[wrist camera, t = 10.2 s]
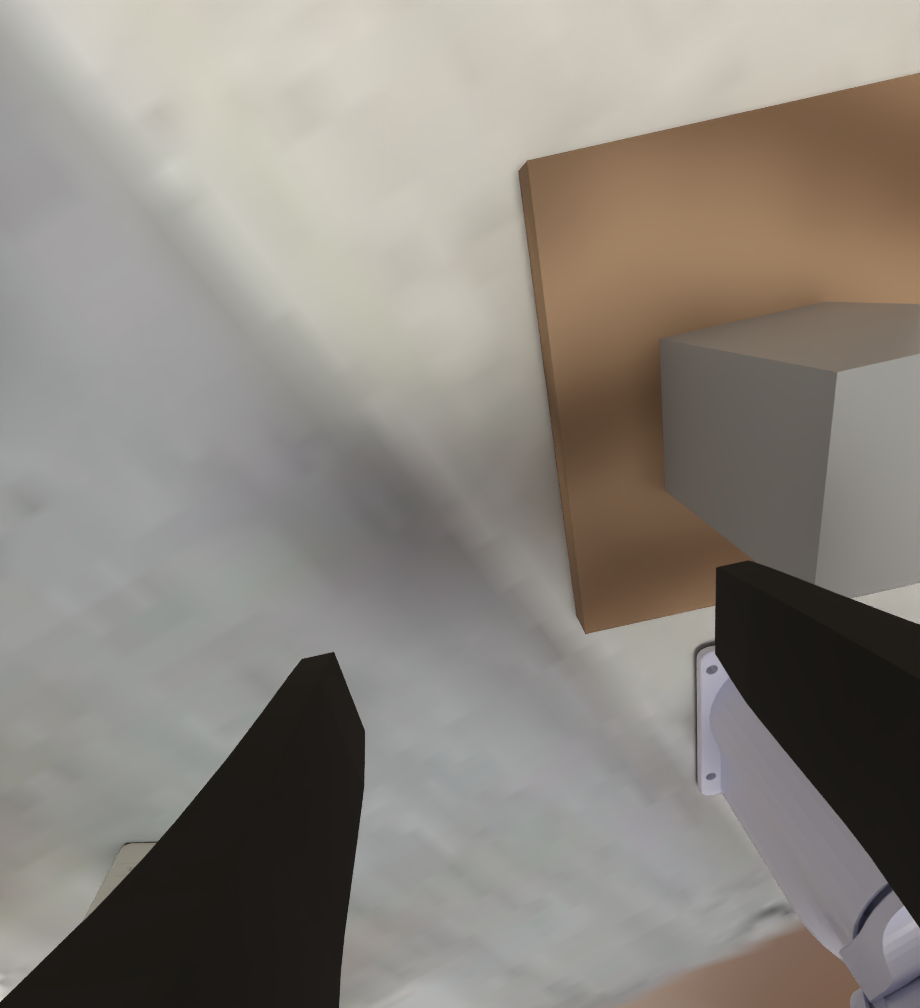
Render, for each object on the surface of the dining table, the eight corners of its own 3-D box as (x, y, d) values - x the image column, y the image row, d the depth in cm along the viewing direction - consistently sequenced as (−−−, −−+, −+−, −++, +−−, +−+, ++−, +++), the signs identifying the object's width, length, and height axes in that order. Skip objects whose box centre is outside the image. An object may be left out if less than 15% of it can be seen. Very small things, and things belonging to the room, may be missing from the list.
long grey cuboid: (809, 458, 17) (1042, 555, 11) (665, 490, 17) (812, 606, 11) (823, 301, 15) (1121, 308, 9) (659, 338, 15) (837, 372, 9)
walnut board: (856, 553, 21) (881, 568, 20) (576, 615, 21) (585, 633, 20) (925, 79, 14) (968, 62, 13) (518, 170, 14) (527, 161, 13)
